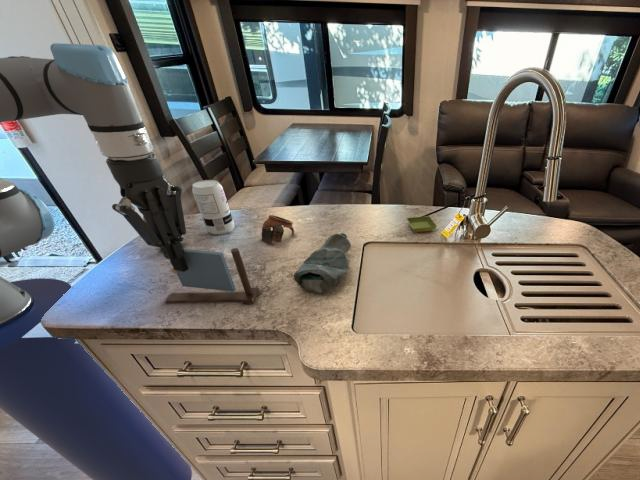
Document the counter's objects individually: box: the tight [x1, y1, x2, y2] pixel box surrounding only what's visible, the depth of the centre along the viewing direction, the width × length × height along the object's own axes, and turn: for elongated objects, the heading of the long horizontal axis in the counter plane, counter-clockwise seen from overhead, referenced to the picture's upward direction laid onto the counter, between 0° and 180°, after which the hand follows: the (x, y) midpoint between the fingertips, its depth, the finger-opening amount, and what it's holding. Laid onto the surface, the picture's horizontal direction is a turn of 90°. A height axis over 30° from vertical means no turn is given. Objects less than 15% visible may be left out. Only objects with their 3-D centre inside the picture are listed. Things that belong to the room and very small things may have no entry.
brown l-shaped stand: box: [165, 247, 260, 305], centre depth 72 cm, size 20×5×13 cm, turn 94°
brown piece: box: [261, 214, 295, 245], centre depth 99 cm, size 12×10×8 cm
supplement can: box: [191, 179, 235, 236], centre depth 100 cm, size 8×8×15 cm
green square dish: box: [406, 215, 438, 233], centre depth 109 cm, size 9×9×2 cm
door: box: [171, 248, 237, 292], centre depth 73 cm, size 13×2×10 cm, turn 82°
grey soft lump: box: [293, 233, 352, 294], centre depth 85 cm, size 13×7×25 cm
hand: (181, 269), depth 71 cm, fingers closed
